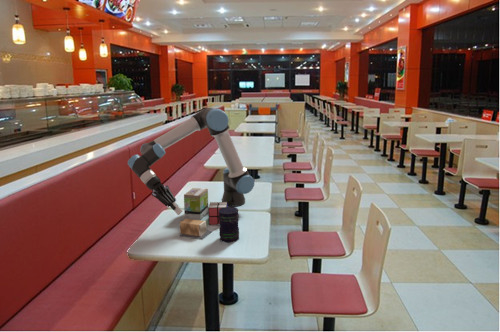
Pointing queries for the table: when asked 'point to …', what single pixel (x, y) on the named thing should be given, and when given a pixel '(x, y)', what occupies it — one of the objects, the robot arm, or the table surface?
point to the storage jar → (229, 224)
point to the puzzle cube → (215, 212)
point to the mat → (197, 236)
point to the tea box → (196, 203)
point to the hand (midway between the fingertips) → (180, 213)
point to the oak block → (193, 227)
